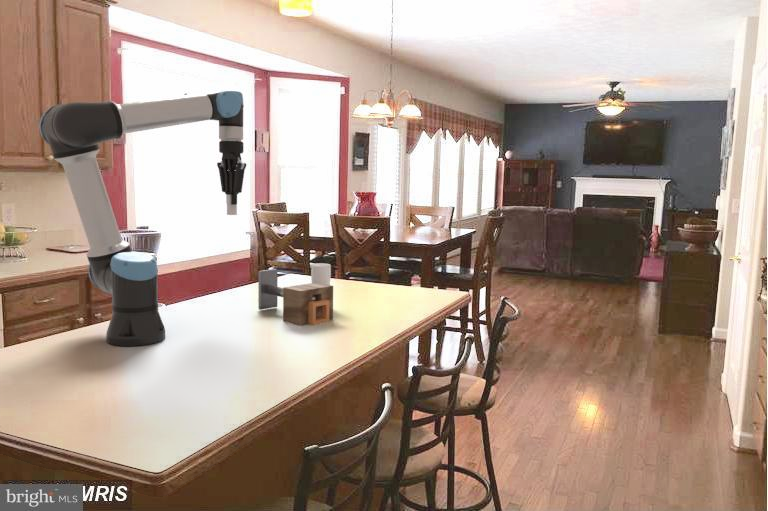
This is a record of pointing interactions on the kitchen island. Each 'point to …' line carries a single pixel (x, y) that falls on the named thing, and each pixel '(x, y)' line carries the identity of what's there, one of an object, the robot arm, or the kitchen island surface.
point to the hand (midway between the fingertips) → (231, 214)
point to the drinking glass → (321, 273)
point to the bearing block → (305, 302)
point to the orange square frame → (312, 312)
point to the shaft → (270, 289)
